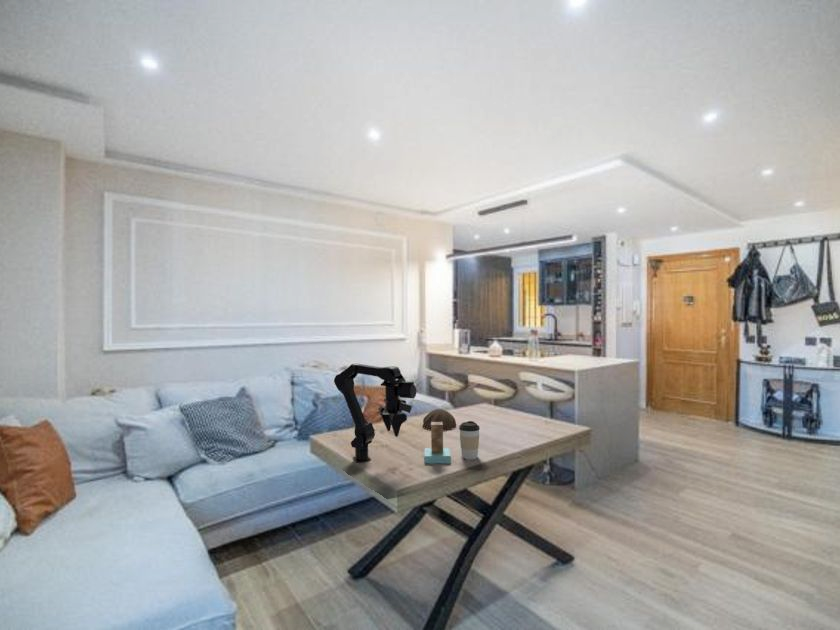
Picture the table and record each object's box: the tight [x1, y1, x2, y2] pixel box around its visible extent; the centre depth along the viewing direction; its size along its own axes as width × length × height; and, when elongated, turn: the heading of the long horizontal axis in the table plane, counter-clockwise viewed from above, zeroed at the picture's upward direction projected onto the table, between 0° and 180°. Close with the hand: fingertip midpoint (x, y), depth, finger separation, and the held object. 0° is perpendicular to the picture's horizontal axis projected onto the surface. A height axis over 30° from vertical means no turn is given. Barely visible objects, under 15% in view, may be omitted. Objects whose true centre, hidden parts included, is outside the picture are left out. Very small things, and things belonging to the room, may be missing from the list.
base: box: [424, 447, 452, 464], centre depth 182 cm, size 11×11×3 cm
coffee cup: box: [459, 420, 480, 460], centre depth 184 cm, size 9×9×15 cm
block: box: [430, 422, 444, 454], centre depth 182 cm, size 5×5×12 cm
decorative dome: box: [422, 408, 457, 431], centre depth 236 cm, size 19×20×10 cm
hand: (392, 433), depth 175 cm, fingers open, 9 cm apart
